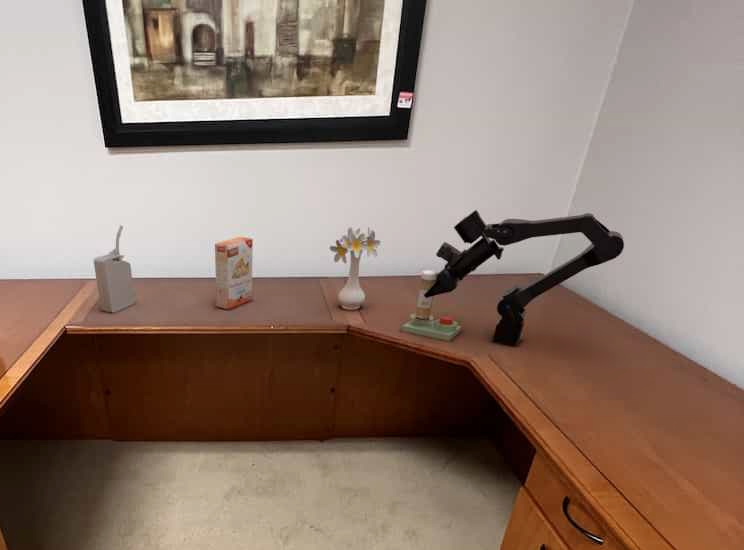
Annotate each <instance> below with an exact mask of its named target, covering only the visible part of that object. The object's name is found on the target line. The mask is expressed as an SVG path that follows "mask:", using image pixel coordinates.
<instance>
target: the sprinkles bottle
mask: <svg viewBox="0 0 744 550" xmlns="http://www.w3.org/2000/svg"><path fill="white" fill-rule="evenodd" d="M438 273H439V272H438V271H436V270H432V269H427V270H423V271H422V272H421V276H420V277H421V279H420V280H421V281H420V285H419V291H418V297H417V302H416V311H415V313H416V314H415V313H414V314H415V316H416V317H417V318H420V319H427V318H429V317H430V315H431V312H432V307H433V302H434V296H432V297H428V298H425V296H424V294H425V293H426V292H427V291H428V290H429V289H430V288H431V287H432V286H433V285H434V283H435V282H436V276H437V274H438Z"/></svg>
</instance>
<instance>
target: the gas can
mask: <svg viewBox="0 0 744 550" xmlns="http://www.w3.org/2000/svg"><path fill="white" fill-rule="evenodd" d="M123 228H124V226H123V225H121V224H120V225H119V228H118V230H117V233H116V237H115V238H116V239H115V248H114V249H112V250H111V251H109V252H108V253H107V254H104V255H100V256H96V257H94V258H93V266H94V272H95V273H94V274H95V280H96V285H97V291H98V296H99V303H100V309H101V312H107V313H112V314H113V313H116V312H119V311H121V310H123V309H125V308H128V307H130V306H133V305H134V304H136V297H135V291H134V282H133V273H132V265H131V263H130V262H128V261H126V260H123V258H124V257H125V256H124V255H123V254H121V253H120V237H121V236H122V231H123Z"/></svg>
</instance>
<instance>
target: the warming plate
mask: <svg viewBox="0 0 744 550" xmlns="http://www.w3.org/2000/svg"><path fill="white" fill-rule="evenodd" d="M415 314H416V312H415V313H412V314H410V315H409V319H410V320H415V321H421V322H427V321H432V320H433V321H434V315H432V314H430V317H429V318H427V319H420V318H417V317H416V316H415Z"/></svg>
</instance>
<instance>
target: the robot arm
mask: <svg viewBox="0 0 744 550" xmlns="http://www.w3.org/2000/svg"><path fill="white" fill-rule="evenodd" d="M453 229H454V231H456V233H457V234H458V236H459V237H460V239H461V240H462V241H463V243H464V244H470V245H471V246H470V247H468V248H467V249H463V250H462V251H461V250H459V249H457V248H456V247H454V246H453V245H452V244H450V243H448V242H443V243H442V244H441V246H440V247H439V249H438V250H437V252H436V254H435V255H436V257H438V258H440V259H442V260H444V261H446V264H444V268H442V269H441V270H440V271H439V272H438V274H437V276H436V282H435V283H434V285H433V286H432V287H431V288H430V289H429V290H428V291H427V292H426V293H425V294H424V296H425V298H428V297H432V296H433V297H435V296H439V295H443V294H448V293H452V292H453V291H455V290H456V289H457V287H458V285H459V282H461V281H462V280H464V279H465V277H467V276H468V275H469V274H470V273H472V272H475V271H476V270H477V268H478V267H480V266H481V265H482V264H484V263H485V262H487V261H488V260H489V259H490V258H492V257H493V256H495V258H496V259H497V260H498V261H499V260H501V258H502V257H503V252H504V250H505V246H509V245H513V244H517V243H519V242H522V241H525V240H528V239H532V238H541V237H550V236H558V235H567V234H569V235H570V234H577V233H581V234H583V235H584V237H585V238H587V240H588V241H589V242H590V243H591V244H589V246H588V247H586V248H585V249H584V250H582V252H581V253H579V254H577V255H575V256H574V257H573V258H571V259H569V260H567V261H566V262H564V263H563V264H561V265H559V266H557V267H556V268H554V269H553V270H551V271H549V272H547V273H545V274H544V275H542V276H540V277H539V278H537V279H536V280H533V281H532V282H531V283H528V284H527V285H523V286H521V285H520V283H519V282H517V283H516V284H515V285H514V286H512V287H511V288H509V289H505V290H504V293H503V294H502V295H501V296H500V299H499V301H498V303H497V306H496V311H497V313H498V315H499V317H500V319H499V322H498V323H497V324H495V329H494V333H493V338H492V342H493V343H497V344H502V345H507V346H513V347H516V346H517V345H518V344H519V343H520V342H521V340H522V338H521V335H522V333H523V328H524V325H525V322H526V320H525V316H526V313H527V310H526V309H525V307H526V306H527V305H528V304H530V303H531V302H532V301H533V300H535V299H536V298H537V297H539V296H542V294H544V293H546V292H548V291H550V290H551V289H553V288H555V287H557V286H558V285H560V284H562V283H563V282H566V281H567V280H569V279H571V278H572V277H574V276H576V275H578V274H579V273H581V272H582V271H584V270H586V269H589V268H592V267H595V266H598V265H599V266H600V265H603V264H605V263H606V262H609V261H612V260H614V259H616V258H618V257H620V255H621V254H622V252H623V251H624V248H625V242H624V237H623V235H622V234H621V233H620V232H618V231H615V230H610V229H609V228H608V227H606V225H605V224H603V223H602V222H601V221H599V220H598V219H597V218H596V217H595V215H594V214H592V213H590V212H586V213H583V214H577V215H570V216H561V217H554V218H553V217H552V218H545V219H538V220H529V219H522V218H506V219H504V220H502V221H501V222H498V223H489V224H486V222H485V221H484V220H483V218H482V217H481V215H480V213H479V211H478V210H477V209H475V210H473V211H472V212H471V213H469V214H468V215H467V216H466V215H465V217H463V218H462V219H461V220H460V221H459V222H458V223H457V224H455V225H454V226H453ZM479 238H480V239H479ZM478 239H479V240H478ZM472 244H473V245H472ZM500 246H502V247H500Z"/></svg>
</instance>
